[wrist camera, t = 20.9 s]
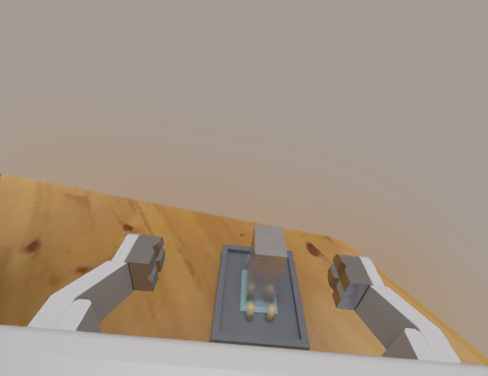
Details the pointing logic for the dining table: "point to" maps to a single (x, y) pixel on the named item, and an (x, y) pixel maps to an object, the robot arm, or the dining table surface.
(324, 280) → the dining table surface
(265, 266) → the block
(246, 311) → the pin tray
